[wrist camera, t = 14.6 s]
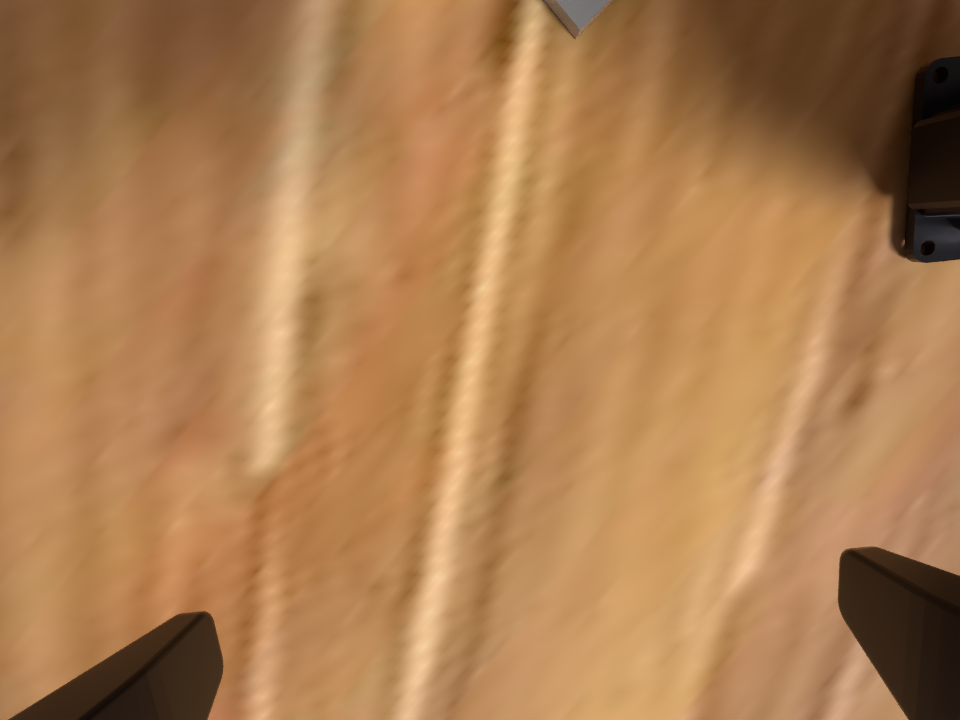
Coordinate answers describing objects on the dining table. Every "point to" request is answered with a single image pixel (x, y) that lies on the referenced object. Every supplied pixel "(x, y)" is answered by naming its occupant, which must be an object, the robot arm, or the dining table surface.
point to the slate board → (577, 12)
